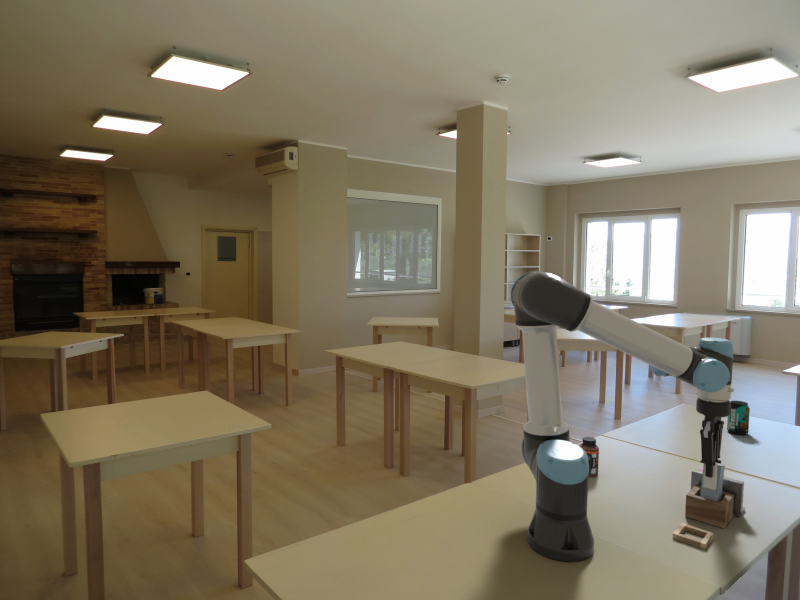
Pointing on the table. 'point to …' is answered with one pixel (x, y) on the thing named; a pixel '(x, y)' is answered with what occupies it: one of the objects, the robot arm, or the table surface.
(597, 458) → the supplement bottle
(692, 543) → the stand
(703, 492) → the light blue square peg
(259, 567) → the table surface
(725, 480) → the backstop
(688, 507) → the brown wooden box
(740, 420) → the beverage can
